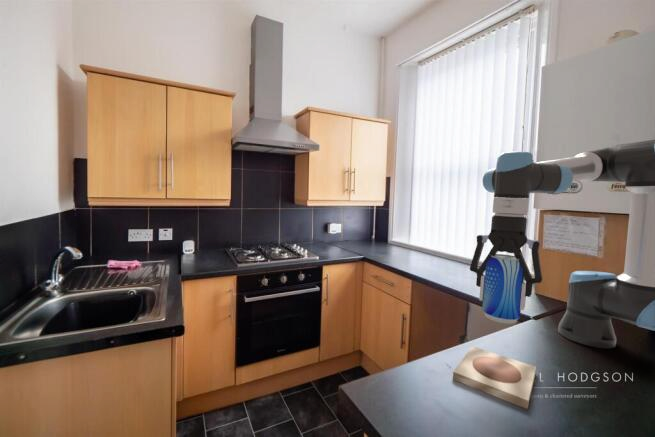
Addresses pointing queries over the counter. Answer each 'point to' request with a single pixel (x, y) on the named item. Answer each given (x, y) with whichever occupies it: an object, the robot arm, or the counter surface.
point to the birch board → (497, 375)
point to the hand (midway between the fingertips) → (501, 303)
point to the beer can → (503, 289)
